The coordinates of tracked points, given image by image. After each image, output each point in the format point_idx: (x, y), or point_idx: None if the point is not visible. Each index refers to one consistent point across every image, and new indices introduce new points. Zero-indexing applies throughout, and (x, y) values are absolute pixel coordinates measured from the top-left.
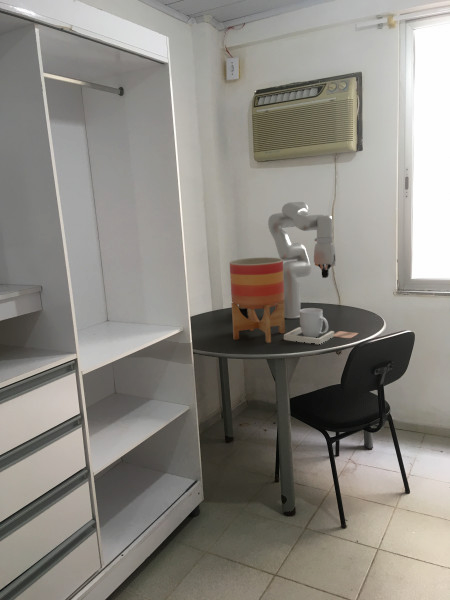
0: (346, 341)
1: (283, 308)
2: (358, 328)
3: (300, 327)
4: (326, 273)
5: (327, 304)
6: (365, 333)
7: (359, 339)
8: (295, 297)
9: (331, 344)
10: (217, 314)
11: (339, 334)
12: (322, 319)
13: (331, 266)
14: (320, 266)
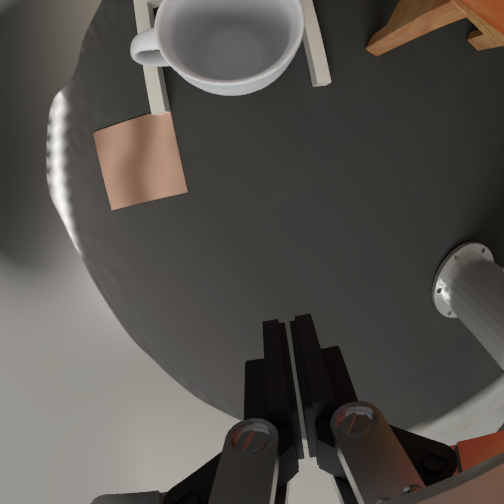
0: (86, 94)
1: (417, 16)
2: (157, 270)
3: (322, 81)
4: (257, 382)
5: (409, 427)
6: (97, 225)
7: (68, 146)
8: (492, 308)
9: (108, 32)
10: None
11: (155, 148)
12: (145, 31)
13: (151, 493)
14: (397, 450)
